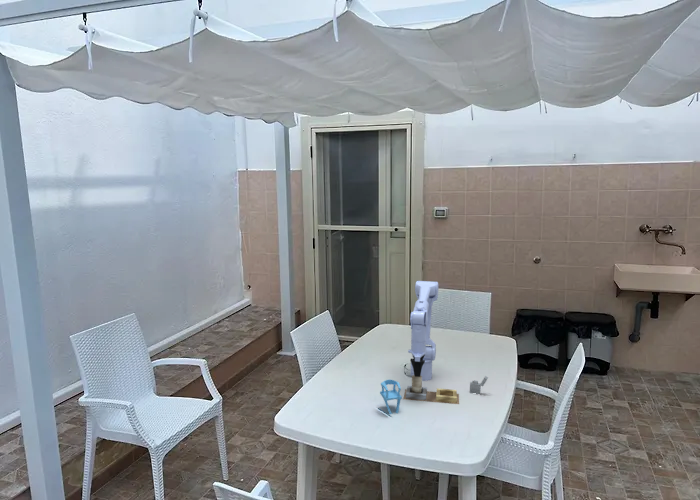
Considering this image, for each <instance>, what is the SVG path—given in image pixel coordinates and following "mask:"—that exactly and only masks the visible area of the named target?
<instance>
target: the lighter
mask: <svg viewBox="0 0 700 500" xmlns="http://www.w3.org/2000/svg"><path fill="white" fill-rule="evenodd" d="M488 379H489V377H488V376H486V375H485V376H484V377H483V379H482V381H481V382H480V383H479V381H478V380H472V381H470V382H469V394H473V393H476V394H475V395H478V394H480V395H481V390H482V389H481V387H484V385H485V384H486V383H487V381H488Z"/></svg>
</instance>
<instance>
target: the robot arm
mask: <svg viewBox="0 0 700 500" xmlns="http://www.w3.org/2000/svg"><path fill="white" fill-rule="evenodd" d="M439 287H440V286H439V281H429V280H427V281H426V280H417V281H416V282H415V285H414V291H415V296H416V299H417V300H416V301H415V302H414V307H413V311H411V312H410V316H409V320H410V330H411V335H410V337H411V338H410V339H411V341H410V343H411V344H410V349H408V350H407V353H409V354H411V357H412V358H410V376H411V377H412V375H414V376H415V377H420V375H421V376H422V382H424V381H426V382H427V381H430V380H432V378H433V361H435V360H436V356H437V355H436V354H437V347H436V346H437V345H436V342H435V341H434V340H433V339H431V328H432V327H431V326H432V324H431V323H432V311H433V310H432V309H433V304H434V302H436V301H438V299H439Z"/></svg>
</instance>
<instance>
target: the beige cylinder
mask: <svg viewBox="0 0 700 500" xmlns="http://www.w3.org/2000/svg"><path fill="white" fill-rule="evenodd" d="M422 382H423V380H422V376H421V375H420V377H415V376H414V375H412V376H411V386H412V393H420V394H421V393H422V387H423V383H422Z"/></svg>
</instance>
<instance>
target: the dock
mask: <svg viewBox="0 0 700 500" xmlns="http://www.w3.org/2000/svg"><path fill="white" fill-rule="evenodd" d="M402 400H406V401H407V400H408V401H417V402H429V403H441V404H451V405H452V404H453V405H460V394H459V393H458V392H457V389H448V388H436V391H432V390H431V391H430V390H428V387H425V386H422V393H421V394H420V393H412V385H407V388H406V389H404V394H403V397H402Z"/></svg>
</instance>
